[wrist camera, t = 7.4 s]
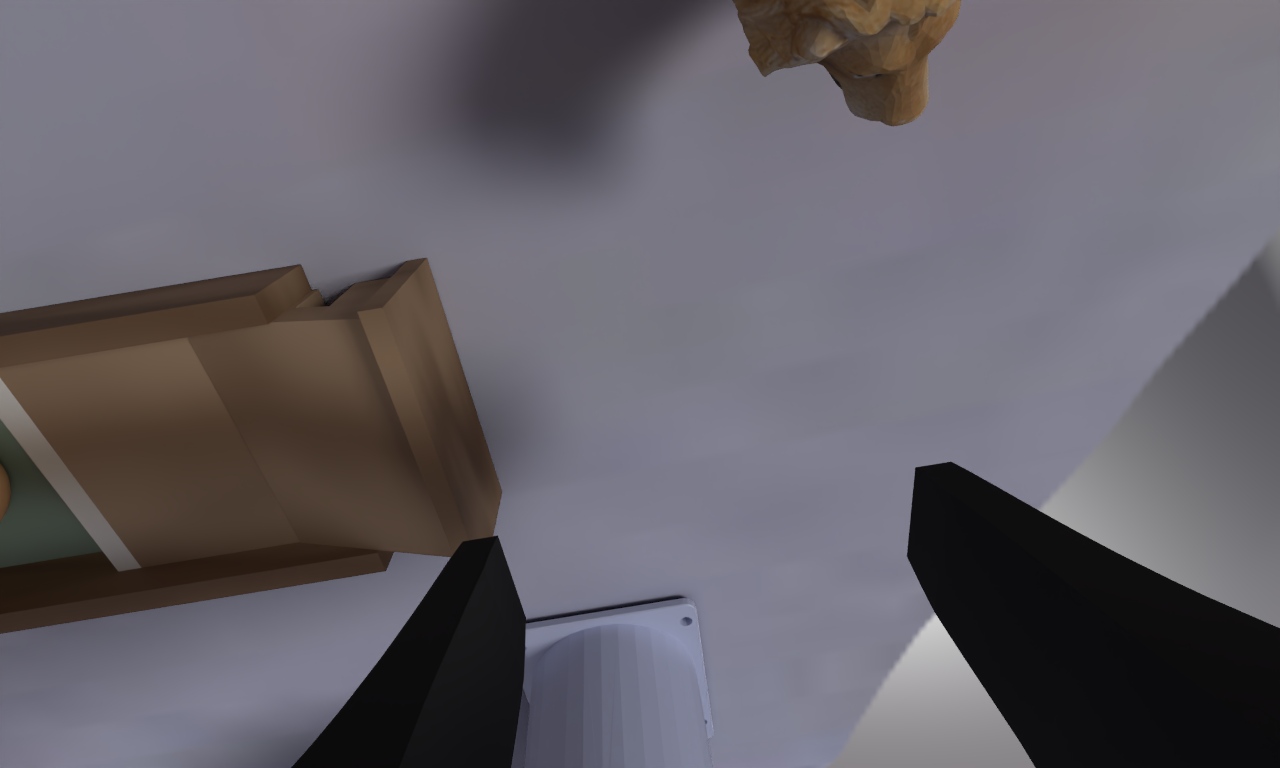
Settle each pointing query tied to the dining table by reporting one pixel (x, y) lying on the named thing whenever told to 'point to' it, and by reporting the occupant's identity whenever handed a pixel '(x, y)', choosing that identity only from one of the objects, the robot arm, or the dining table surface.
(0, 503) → the ball
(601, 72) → the dining table surface
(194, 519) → the wooden shadow box
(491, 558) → the robot arm
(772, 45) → the lion figurine
